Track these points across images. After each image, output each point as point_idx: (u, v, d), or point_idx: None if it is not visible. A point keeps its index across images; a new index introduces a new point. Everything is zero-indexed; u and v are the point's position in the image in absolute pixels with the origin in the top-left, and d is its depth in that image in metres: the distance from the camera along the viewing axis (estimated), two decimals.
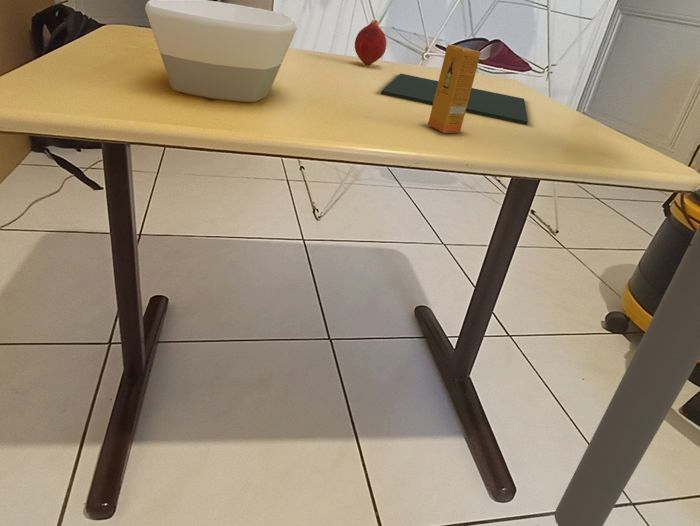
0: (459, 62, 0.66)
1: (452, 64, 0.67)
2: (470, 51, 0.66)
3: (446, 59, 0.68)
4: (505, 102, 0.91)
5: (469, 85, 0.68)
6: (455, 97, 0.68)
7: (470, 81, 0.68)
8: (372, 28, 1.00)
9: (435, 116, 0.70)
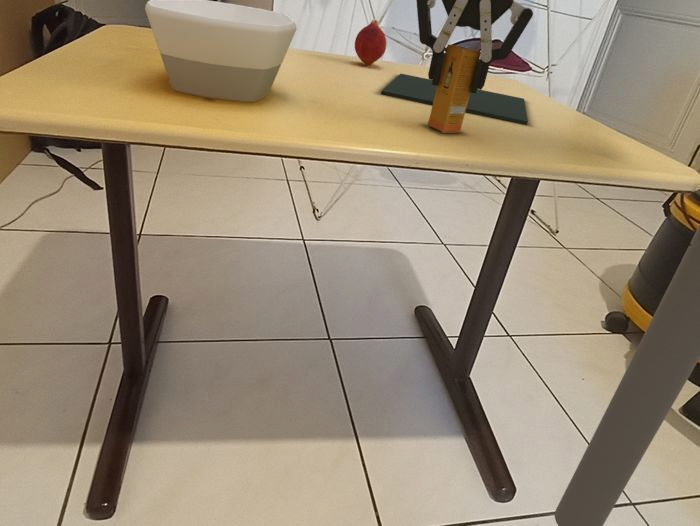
0: (459, 62, 0.66)
1: (452, 64, 0.67)
2: (470, 51, 0.66)
3: (446, 59, 0.68)
4: (505, 102, 0.91)
5: (469, 85, 0.68)
6: (455, 97, 0.68)
7: (470, 81, 0.68)
8: (372, 28, 1.00)
9: (435, 116, 0.70)
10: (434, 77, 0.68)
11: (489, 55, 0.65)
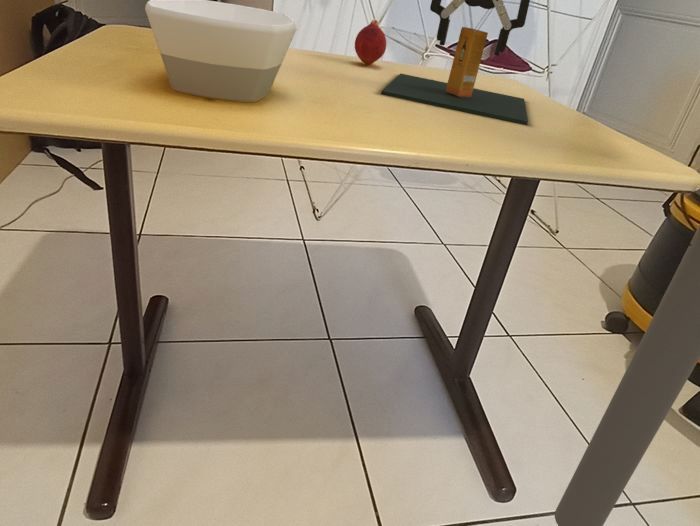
0: (471, 40, 0.85)
1: (465, 42, 0.86)
2: (479, 32, 0.85)
3: (460, 39, 0.86)
4: (505, 102, 0.91)
5: (479, 59, 0.87)
6: (468, 68, 0.87)
7: (479, 56, 0.87)
8: (372, 28, 1.00)
9: (451, 84, 0.89)
10: (441, 38, 0.86)
11: (509, 24, 0.83)
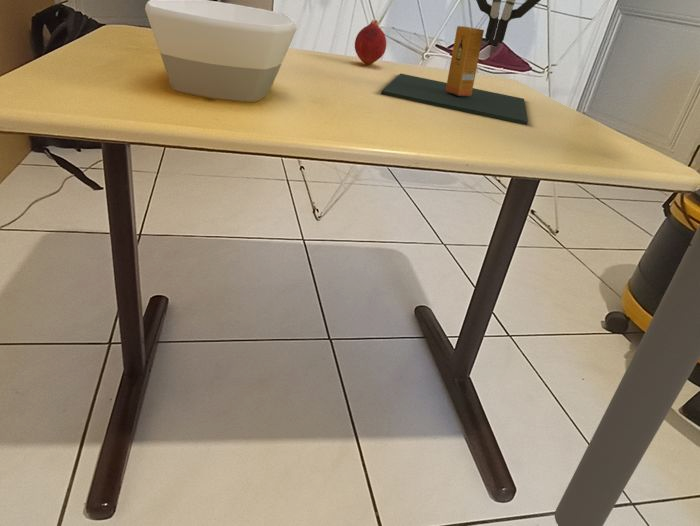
0: (467, 38, 0.85)
1: (461, 40, 0.86)
2: (475, 29, 0.85)
3: (457, 38, 0.87)
4: (505, 102, 0.91)
5: (476, 56, 0.87)
6: (466, 66, 0.87)
7: (477, 53, 0.87)
8: (372, 28, 1.00)
9: (451, 83, 0.89)
10: (490, 38, 0.85)
11: (508, 14, 0.83)
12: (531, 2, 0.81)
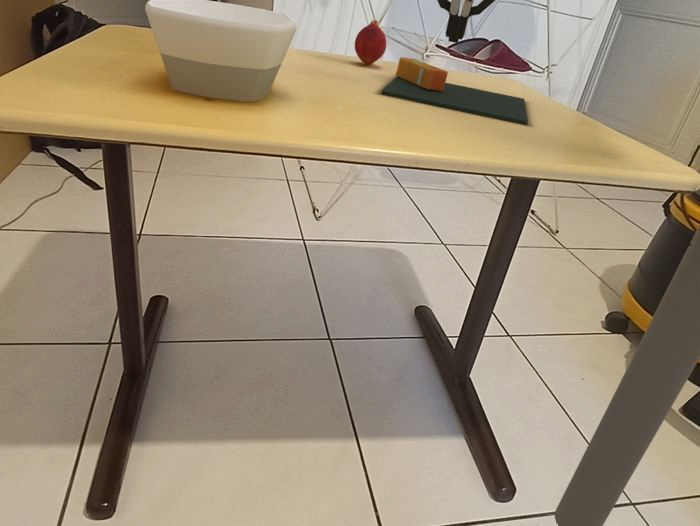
0: (400, 77, 0.96)
1: None
2: (397, 68, 0.96)
3: None
4: (505, 102, 0.91)
5: (411, 65, 0.92)
6: (413, 79, 0.92)
7: (409, 65, 0.93)
8: (372, 28, 1.00)
9: None
10: (450, 35, 0.86)
11: (467, 11, 0.84)
12: None
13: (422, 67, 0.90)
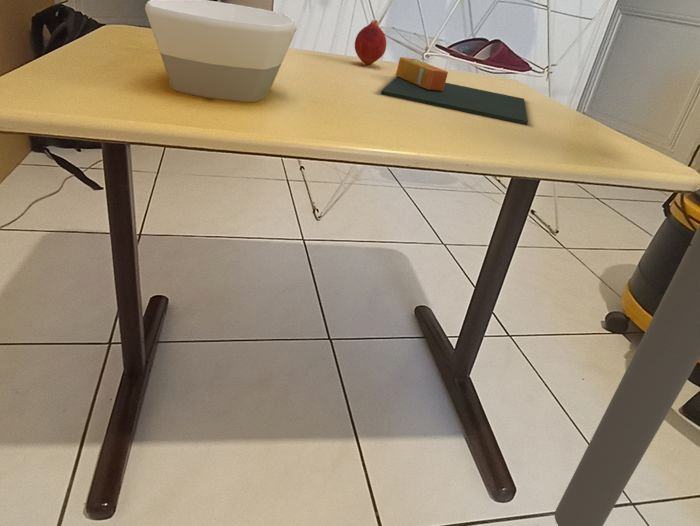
0: (400, 77, 0.96)
1: None
2: (397, 68, 0.96)
3: None
4: (505, 102, 0.91)
5: (411, 65, 0.92)
6: (413, 79, 0.92)
7: (409, 65, 0.93)
8: (372, 28, 1.00)
9: None
10: None
11: None
12: None
13: (422, 67, 0.90)
